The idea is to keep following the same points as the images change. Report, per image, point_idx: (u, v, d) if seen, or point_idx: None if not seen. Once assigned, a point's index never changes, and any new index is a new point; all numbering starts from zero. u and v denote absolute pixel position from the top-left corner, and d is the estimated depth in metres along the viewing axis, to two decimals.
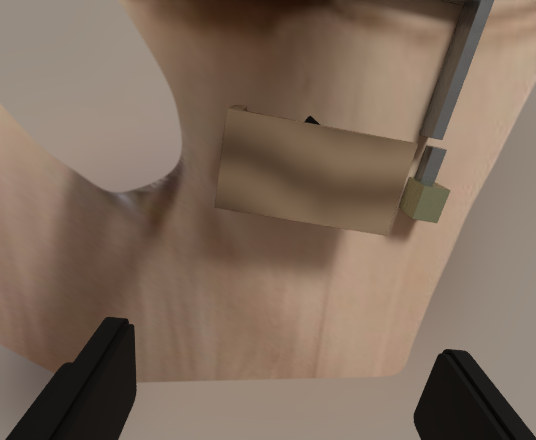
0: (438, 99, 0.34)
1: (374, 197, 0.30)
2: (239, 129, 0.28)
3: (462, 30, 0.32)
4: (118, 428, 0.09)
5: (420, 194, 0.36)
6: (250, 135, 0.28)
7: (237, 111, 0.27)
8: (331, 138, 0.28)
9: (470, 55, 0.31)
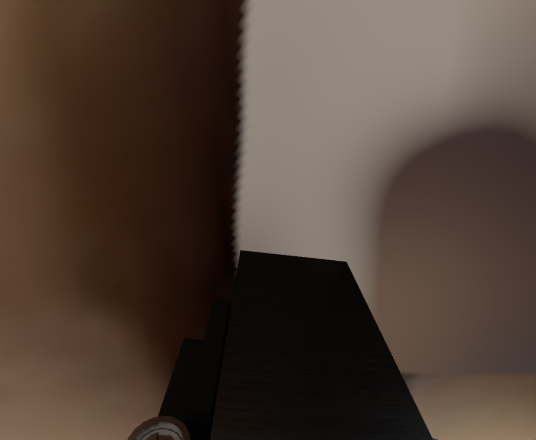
0: None
1: None
2: None
3: None
4: None
5: None
6: None
7: None
8: None
9: None
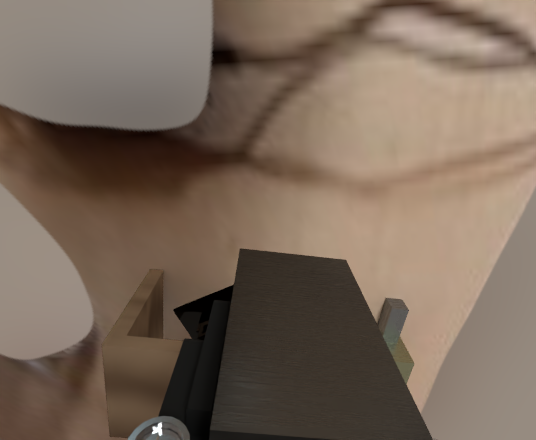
0: None
1: None
2: (122, 363, 0.21)
3: None
4: None
5: None
6: (138, 369, 0.22)
7: (116, 347, 0.21)
8: None
9: None
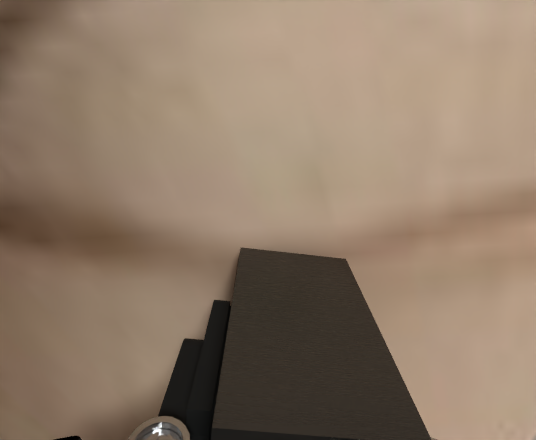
0: None
1: None
2: None
3: None
4: None
5: None
6: None
7: None
8: None
9: None
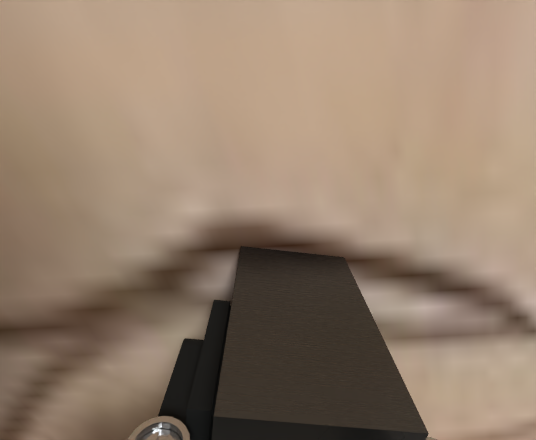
0: None
1: None
2: None
3: None
4: None
5: None
6: None
7: None
8: None
9: None
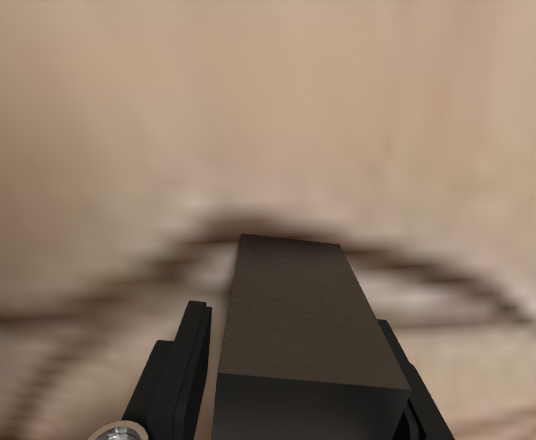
0: None
1: None
2: None
3: None
4: (200, 399, 0.10)
5: None
6: None
7: None
8: None
9: None
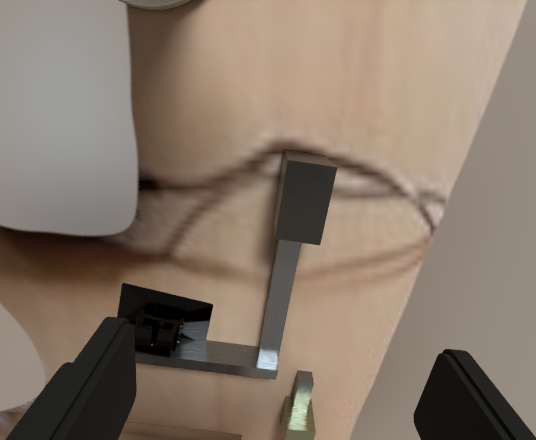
0: None
1: None
2: None
3: (234, 355, 0.33)
4: (118, 428, 0.09)
5: (285, 434, 0.34)
6: None
7: None
8: None
9: (209, 369, 0.32)
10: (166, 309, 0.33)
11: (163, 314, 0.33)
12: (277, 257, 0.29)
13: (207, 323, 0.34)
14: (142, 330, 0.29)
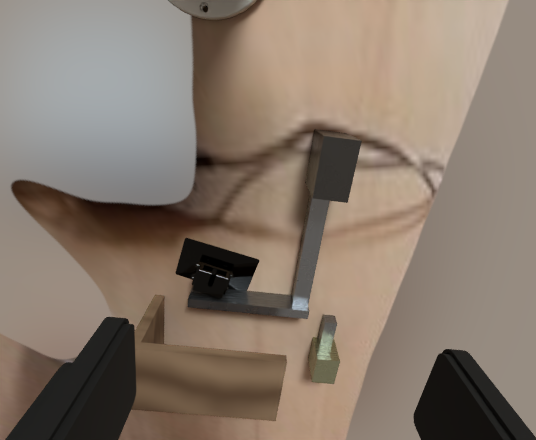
0: None
1: (259, 397, 0.36)
2: (138, 360, 0.34)
3: (272, 300, 0.41)
4: (118, 428, 0.09)
5: (315, 364, 0.42)
6: (148, 363, 0.34)
7: None
8: (214, 362, 0.34)
9: (254, 311, 0.40)
10: (218, 261, 0.40)
11: (214, 265, 0.40)
12: (309, 217, 0.36)
13: (248, 276, 0.41)
14: (203, 274, 0.36)
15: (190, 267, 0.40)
